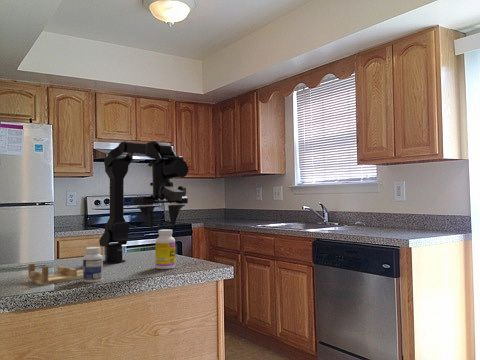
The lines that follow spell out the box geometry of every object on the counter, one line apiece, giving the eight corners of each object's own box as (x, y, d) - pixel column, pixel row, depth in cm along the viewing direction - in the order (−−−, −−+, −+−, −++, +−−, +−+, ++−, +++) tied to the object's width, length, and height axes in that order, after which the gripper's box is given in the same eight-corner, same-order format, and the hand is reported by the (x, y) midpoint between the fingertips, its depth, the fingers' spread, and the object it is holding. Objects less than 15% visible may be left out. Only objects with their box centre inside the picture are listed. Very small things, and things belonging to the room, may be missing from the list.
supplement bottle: (171, 269, 141) (170, 231, 142) (152, 269, 142) (152, 230, 143) (178, 266, 148) (177, 229, 148) (160, 265, 149) (159, 229, 149)
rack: (28, 281, 125) (28, 264, 125) (86, 271, 140) (86, 256, 140) (44, 285, 119) (44, 267, 119) (102, 274, 134) (102, 258, 134)
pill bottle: (86, 279, 127) (86, 246, 127) (104, 278, 128) (104, 246, 128) (80, 283, 122) (80, 249, 122) (100, 282, 122) (99, 248, 122)
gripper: (154, 177, 129) (155, 229, 128) (198, 178, 143) (199, 224, 142) (132, 179, 136) (133, 228, 135) (176, 180, 150) (177, 224, 150)
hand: (162, 226), depth 140 cm, fingers open, 9 cm apart
